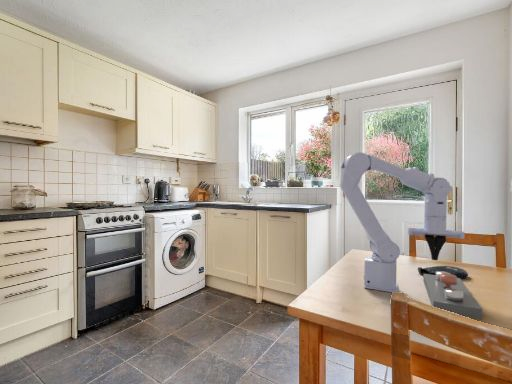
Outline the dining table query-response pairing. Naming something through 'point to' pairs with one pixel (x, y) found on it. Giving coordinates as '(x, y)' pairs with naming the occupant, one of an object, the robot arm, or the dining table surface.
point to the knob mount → (438, 300)
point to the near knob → (454, 295)
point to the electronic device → (452, 270)
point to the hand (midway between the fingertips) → (434, 259)
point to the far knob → (439, 274)
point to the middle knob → (448, 279)
